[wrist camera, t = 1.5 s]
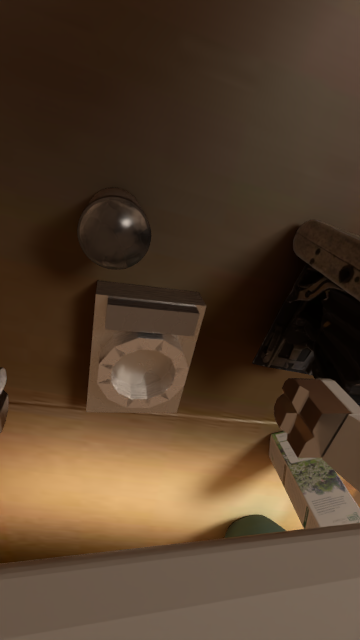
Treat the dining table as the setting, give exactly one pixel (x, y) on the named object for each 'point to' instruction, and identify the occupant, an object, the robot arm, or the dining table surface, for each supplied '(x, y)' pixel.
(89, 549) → the dining table surface
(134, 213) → the knob
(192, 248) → the dining table surface
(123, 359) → the mount
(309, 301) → the vintage camera
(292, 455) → the syrup box
